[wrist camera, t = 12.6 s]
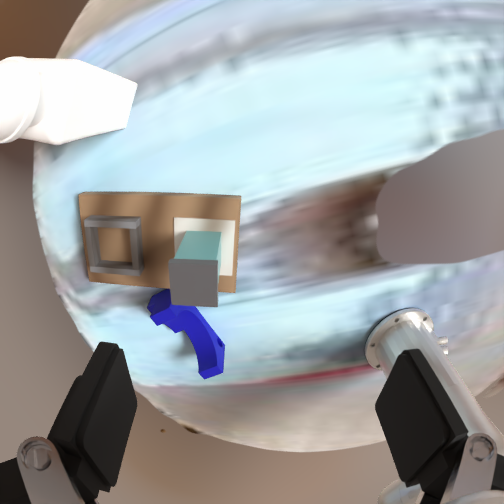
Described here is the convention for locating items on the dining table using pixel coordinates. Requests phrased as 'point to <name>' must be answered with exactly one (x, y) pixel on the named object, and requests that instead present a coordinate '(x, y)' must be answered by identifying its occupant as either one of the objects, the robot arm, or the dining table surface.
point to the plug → (196, 270)
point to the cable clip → (190, 331)
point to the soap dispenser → (60, 100)
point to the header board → (153, 234)
